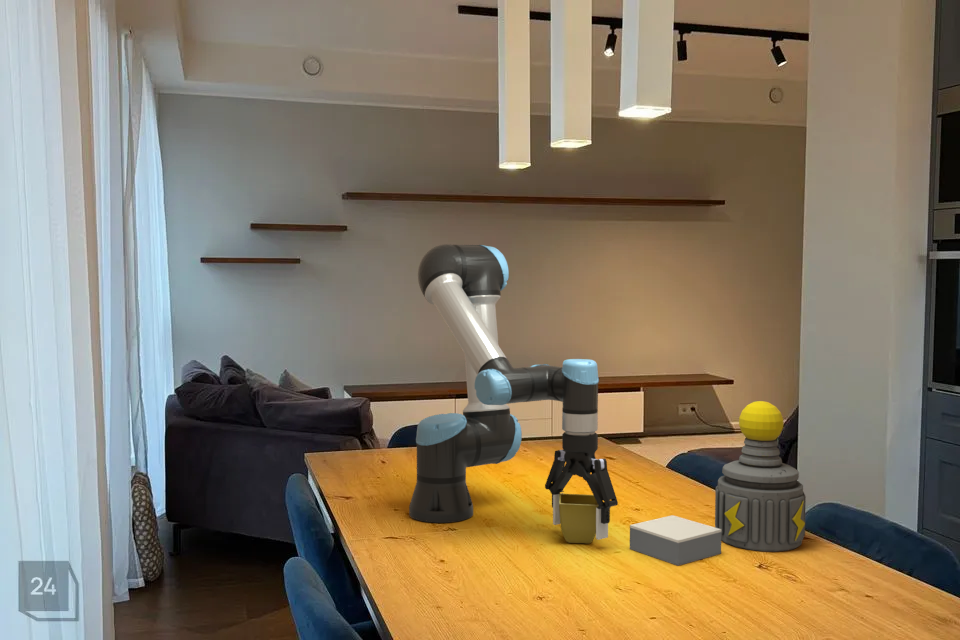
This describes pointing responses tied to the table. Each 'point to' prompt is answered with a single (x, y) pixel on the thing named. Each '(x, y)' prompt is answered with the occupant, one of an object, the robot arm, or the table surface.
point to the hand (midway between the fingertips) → (579, 530)
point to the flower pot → (578, 517)
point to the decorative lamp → (760, 489)
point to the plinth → (675, 539)
